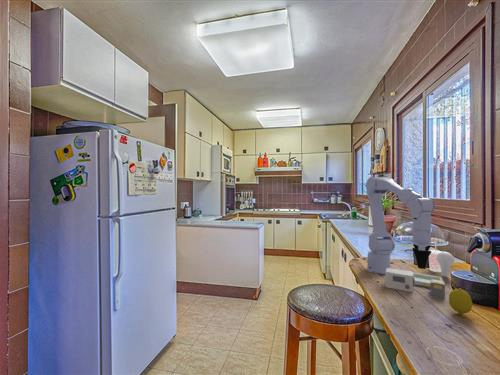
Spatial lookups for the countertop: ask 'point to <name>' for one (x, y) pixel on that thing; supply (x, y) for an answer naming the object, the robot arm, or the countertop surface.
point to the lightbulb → (445, 262)
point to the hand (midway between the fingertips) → (421, 265)
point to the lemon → (460, 301)
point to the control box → (400, 279)
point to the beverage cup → (434, 260)
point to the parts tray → (424, 279)
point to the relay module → (437, 288)
